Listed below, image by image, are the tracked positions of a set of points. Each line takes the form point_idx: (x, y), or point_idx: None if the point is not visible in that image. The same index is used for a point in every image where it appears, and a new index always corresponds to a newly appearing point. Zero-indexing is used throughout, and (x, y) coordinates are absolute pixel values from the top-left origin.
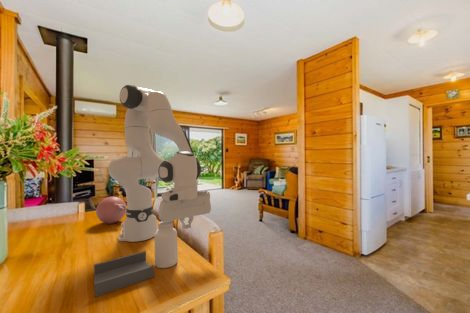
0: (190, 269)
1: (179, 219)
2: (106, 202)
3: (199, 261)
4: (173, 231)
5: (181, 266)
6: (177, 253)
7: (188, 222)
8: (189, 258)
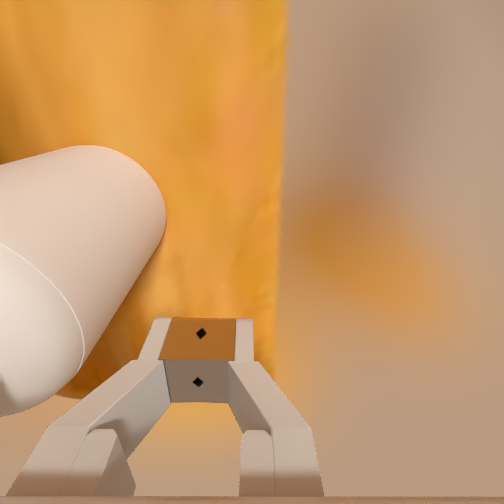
0: (199, 313)
1: (43, 453)
2: None
3: (258, 285)
4: (24, 408)
5: (171, 276)
6: (150, 256)
7: (232, 386)
8: (231, 234)
